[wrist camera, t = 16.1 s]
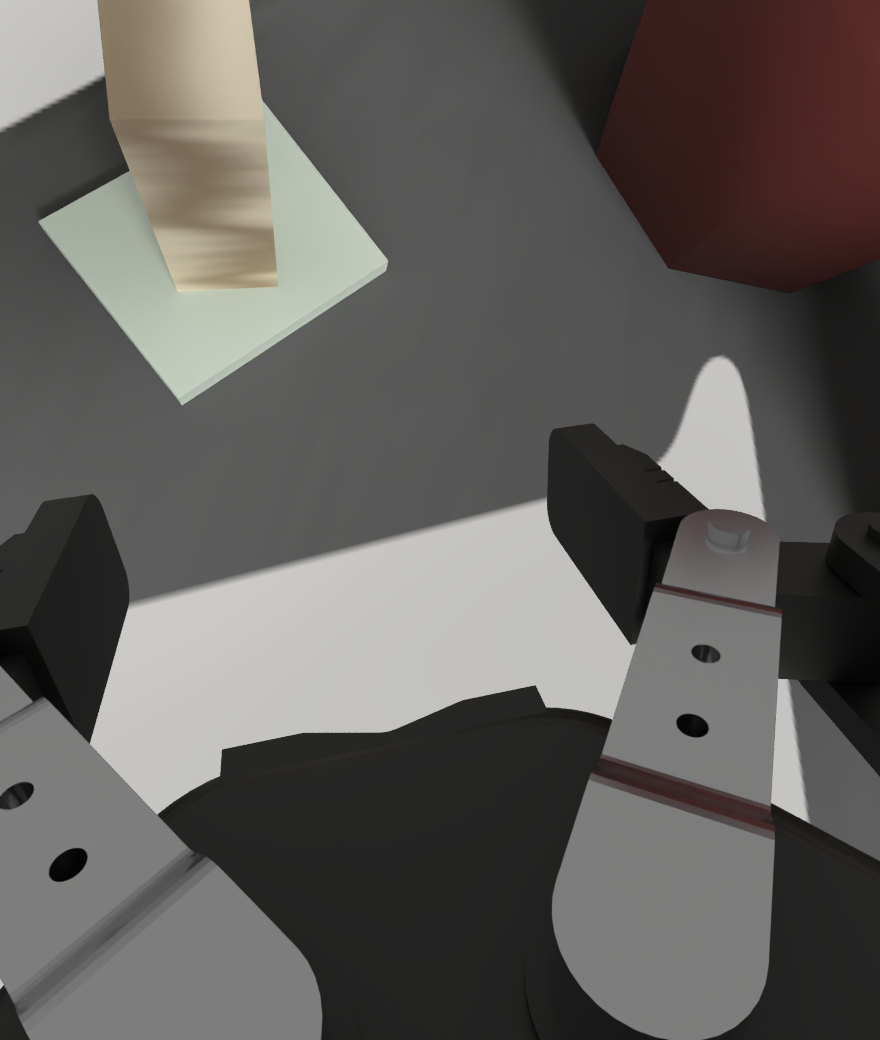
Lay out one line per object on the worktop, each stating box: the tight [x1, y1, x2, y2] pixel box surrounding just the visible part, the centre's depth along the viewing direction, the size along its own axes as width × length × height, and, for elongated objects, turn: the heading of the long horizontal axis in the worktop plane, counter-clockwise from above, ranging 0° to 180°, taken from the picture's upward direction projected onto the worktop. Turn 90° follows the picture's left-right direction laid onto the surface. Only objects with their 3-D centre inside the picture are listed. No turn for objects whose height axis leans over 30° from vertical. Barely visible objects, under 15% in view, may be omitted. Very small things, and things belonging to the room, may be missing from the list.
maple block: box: [98, 0, 278, 292], centre depth 26 cm, size 4×4×11 cm
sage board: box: [38, 101, 388, 405], centre depth 32 cm, size 12×10×1 cm
